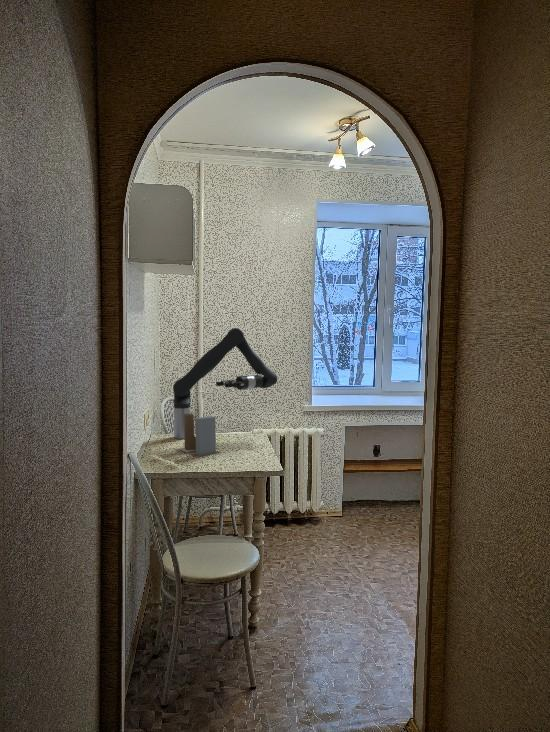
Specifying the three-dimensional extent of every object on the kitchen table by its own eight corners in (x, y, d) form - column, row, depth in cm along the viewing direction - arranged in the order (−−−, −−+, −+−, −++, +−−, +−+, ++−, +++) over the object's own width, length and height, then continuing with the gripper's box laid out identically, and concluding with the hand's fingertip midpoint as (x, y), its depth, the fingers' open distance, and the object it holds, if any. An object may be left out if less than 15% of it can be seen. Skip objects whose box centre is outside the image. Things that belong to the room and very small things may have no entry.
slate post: (195, 454, 283) (195, 418, 282) (211, 451, 289) (210, 415, 287) (200, 455, 280) (199, 419, 279) (215, 452, 286) (215, 417, 284)
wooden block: (202, 447, 297) (201, 412, 295) (203, 449, 293) (202, 414, 291) (184, 448, 295) (183, 413, 293) (185, 450, 290) (184, 415, 289)
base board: (175, 451, 294) (175, 448, 294) (199, 447, 303) (199, 444, 303) (197, 459, 277) (197, 456, 277) (222, 455, 286) (222, 452, 286)
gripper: (238, 374, 324) (213, 376, 314) (253, 376, 313) (228, 378, 303) (238, 388, 325) (213, 390, 315) (253, 390, 314) (228, 393, 304)
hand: (220, 384), depth 309 cm, fingers open, 8 cm apart
